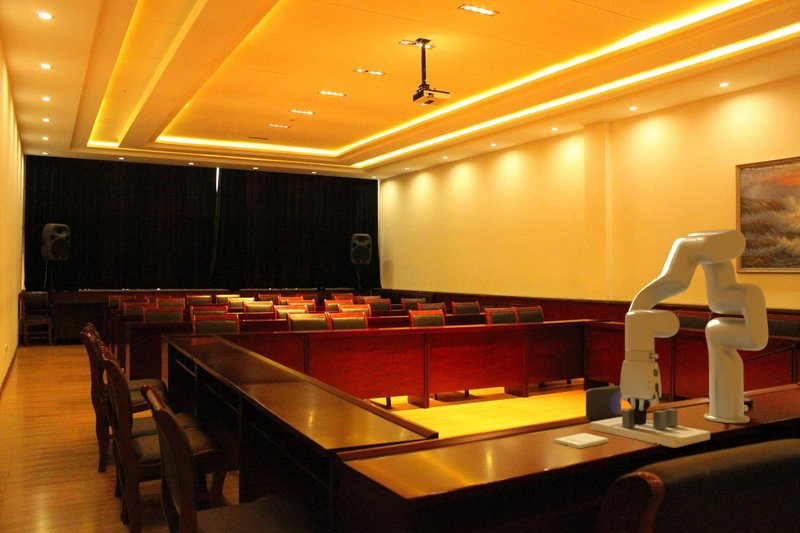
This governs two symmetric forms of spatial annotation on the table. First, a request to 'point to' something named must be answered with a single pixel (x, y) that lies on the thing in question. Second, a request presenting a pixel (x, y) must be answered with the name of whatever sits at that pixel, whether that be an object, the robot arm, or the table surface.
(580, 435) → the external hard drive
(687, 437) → the white flat board
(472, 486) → the table surface
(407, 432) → the table surface
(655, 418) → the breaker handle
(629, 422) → the handle
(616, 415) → the dark olive rounded block
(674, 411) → the breaker handle
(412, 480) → the table surface
